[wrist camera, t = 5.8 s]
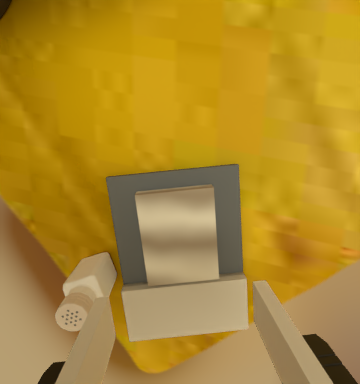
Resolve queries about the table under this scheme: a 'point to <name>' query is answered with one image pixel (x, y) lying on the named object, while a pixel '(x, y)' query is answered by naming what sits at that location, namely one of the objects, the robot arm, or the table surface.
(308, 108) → the table surface
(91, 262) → the salt shaker
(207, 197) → the plank
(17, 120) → the table surface
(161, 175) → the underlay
